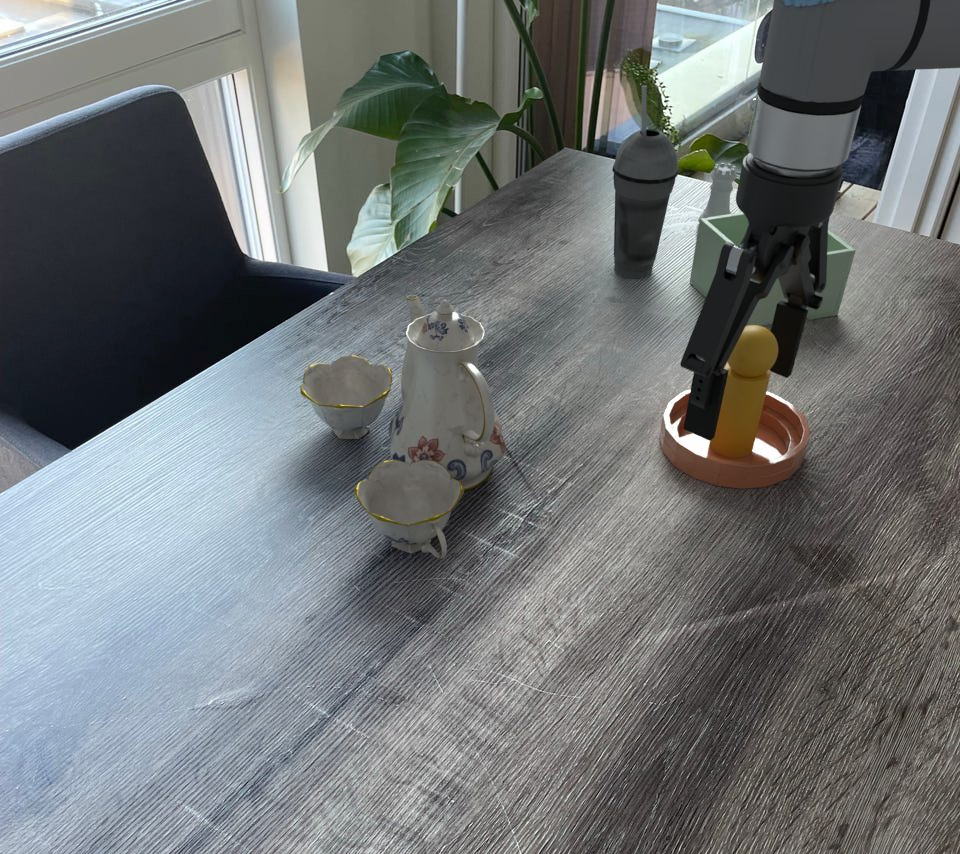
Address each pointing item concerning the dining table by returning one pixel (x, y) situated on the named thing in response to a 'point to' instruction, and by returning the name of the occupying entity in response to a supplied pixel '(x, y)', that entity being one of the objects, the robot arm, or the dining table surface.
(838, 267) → the bin
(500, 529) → the dining table surface
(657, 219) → the beverage cup
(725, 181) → the rook chess piece
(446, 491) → the chinaware
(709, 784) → the dining table surface
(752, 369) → the toy figure
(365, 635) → the dining table surface
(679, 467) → the bowl
